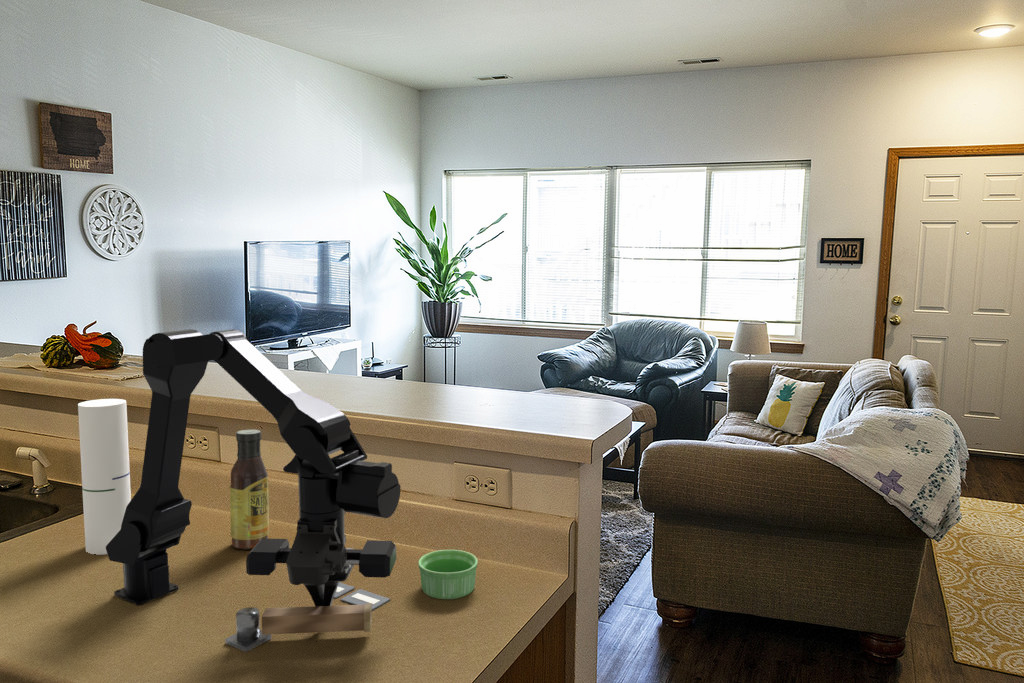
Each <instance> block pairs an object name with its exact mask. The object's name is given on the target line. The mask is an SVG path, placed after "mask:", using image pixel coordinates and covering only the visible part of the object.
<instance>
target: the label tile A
mask: <svg viewBox="0 0 1024 683" xmlns="http://www.w3.org/2000/svg"><path fill="white" fill-rule="evenodd" d="M355 589H356V587H355V586H352V585H348V584H347V583H343V582H339V584H338V587H337V590H336V593H335V596H334V599H337V598H339V597H340V598H341V597H342V596H344V595H345V594H347V593H350V592H351V591H353V590H355Z"/></svg>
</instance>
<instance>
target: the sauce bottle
mask: <svg viewBox="0 0 1024 683" xmlns="http://www.w3.org/2000/svg"><path fill="white" fill-rule="evenodd" d="M235 437H236V439H235V440H236V442H237V453H236V456H237V459H236V461H235V463H234V464H233V466H232V468H231V469H230V470H231V471H230V485H229V489H230V490H229V496H230V498H229V499H230V500H229V504H230V505H229V507H230V510H229V512H230V515H229V516H230V517H229V518H230V537H231V545H232V547H233V548H235V549H238V550H252V549H253V548H254V547H255V546H256V545H257V543H258V542H259V541H260V540H261V539H262V538H267V539H269V534H270V530H269V529H270V522H269V521H270V520H269V519H270V516H269V513H270V512H269V511H270V510H269V474H268V472H267V469H266V467H265V464H264V461H263V459H262V453H261V440H262V432H261V430H259V429H242V430H238V431H237V432H236V435H235Z"/></svg>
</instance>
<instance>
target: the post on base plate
mask: <svg viewBox="0 0 1024 683" xmlns="http://www.w3.org/2000/svg"><path fill="white" fill-rule="evenodd" d="M235 613H236V614H235V622H236V633H235V634H232V635H230V636H228V637H226V638H225V639H224V640H225V643H224V644H227V645H228V646H231V647H233V648H235V649H238V650H240V651H243V652H244V653H247V652H249V651H251V650H253V649H254V648H256V647H259V646H260V645H262V644H264V643H266V642H267V641H270V640H272V634H267V635H262V629H261V628H260V626H261V625H260V610H259V608H257V607H254V606H253V607H244V608H241V609H239V610H237V611H236V612H235Z"/></svg>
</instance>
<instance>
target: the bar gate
mask: <svg viewBox="0 0 1024 683" xmlns="http://www.w3.org/2000/svg"><path fill="white" fill-rule="evenodd" d="M372 612H373V610H372V603H366V604H365V605H353V604H343V605H342V604H341V605H331V606H315V605H314V606H293V607H292V606H290V607H266V608H265V609H264V610H263V613H262V615H261V630H262V635H267V634H271V635H285V634H290V635H291V634H313V633H314V634H315V633H334V632H335V633H339V632H361V631H362V632H371V628H372V624H373V614H372Z"/></svg>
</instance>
